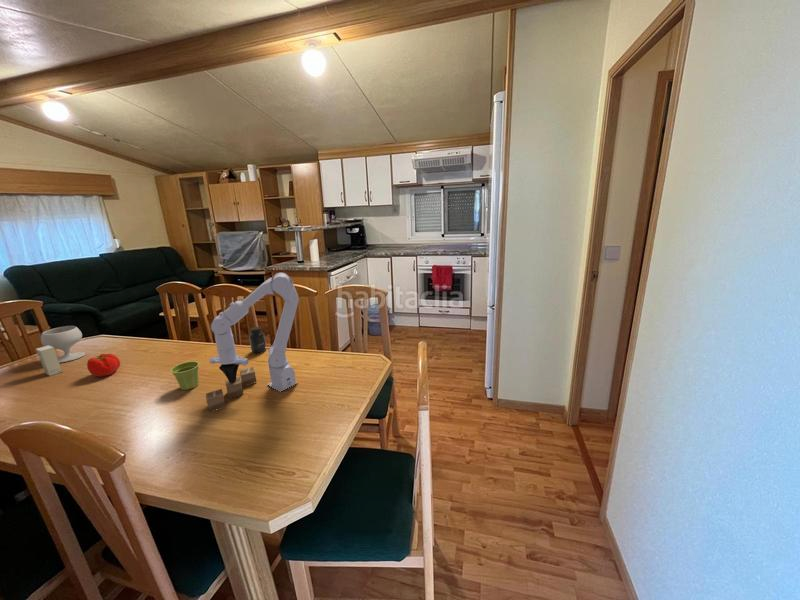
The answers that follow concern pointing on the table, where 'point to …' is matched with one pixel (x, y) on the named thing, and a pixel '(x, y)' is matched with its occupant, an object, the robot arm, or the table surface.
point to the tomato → (103, 365)
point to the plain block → (234, 388)
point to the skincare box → (49, 360)
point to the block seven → (247, 376)
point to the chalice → (63, 341)
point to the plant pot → (186, 374)
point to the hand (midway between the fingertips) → (232, 381)
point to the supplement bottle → (257, 340)
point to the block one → (215, 400)
